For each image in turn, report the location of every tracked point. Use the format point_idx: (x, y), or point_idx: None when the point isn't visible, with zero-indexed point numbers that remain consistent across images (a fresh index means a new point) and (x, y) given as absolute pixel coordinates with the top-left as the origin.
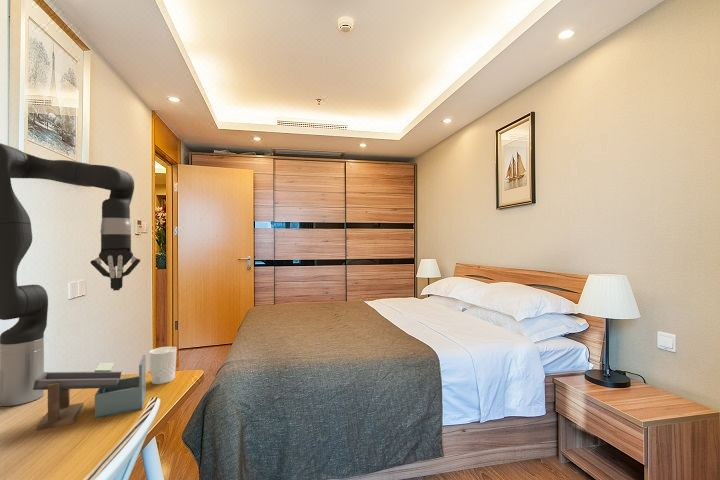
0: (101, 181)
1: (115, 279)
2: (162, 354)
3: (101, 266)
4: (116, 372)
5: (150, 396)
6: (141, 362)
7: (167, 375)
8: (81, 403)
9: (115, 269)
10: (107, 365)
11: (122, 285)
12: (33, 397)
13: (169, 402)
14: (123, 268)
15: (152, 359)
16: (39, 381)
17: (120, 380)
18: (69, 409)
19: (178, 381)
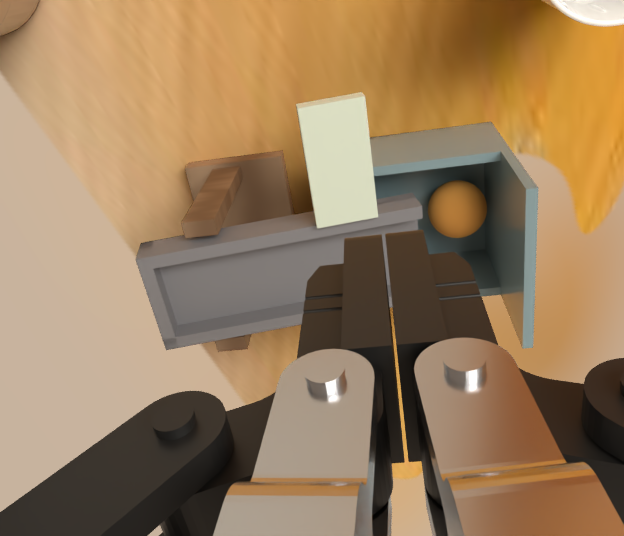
0: None
1: (396, 444)
2: (615, 23)
3: None
4: (404, 220)
5: (510, 140)
6: (529, 315)
7: None
8: (276, 164)
9: (369, 525)
10: (344, 148)
11: (472, 277)
12: (32, 5)
13: (581, 227)
14: (592, 490)
15: (546, 1)
16: (180, 345)
17: (408, 170)
18: (258, 205)
19: None
